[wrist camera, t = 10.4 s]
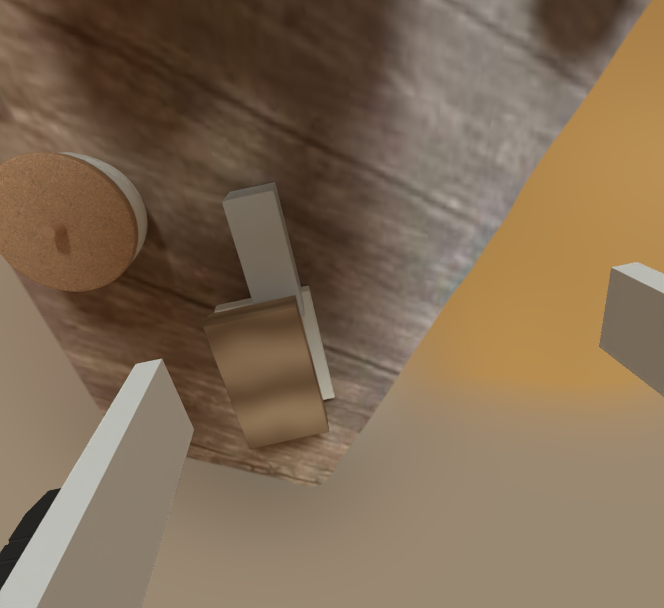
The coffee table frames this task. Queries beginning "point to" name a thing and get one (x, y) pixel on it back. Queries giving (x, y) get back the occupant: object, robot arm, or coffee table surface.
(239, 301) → the peg stand
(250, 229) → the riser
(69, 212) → the lidded jar
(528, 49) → the coffee table surface
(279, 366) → the board
